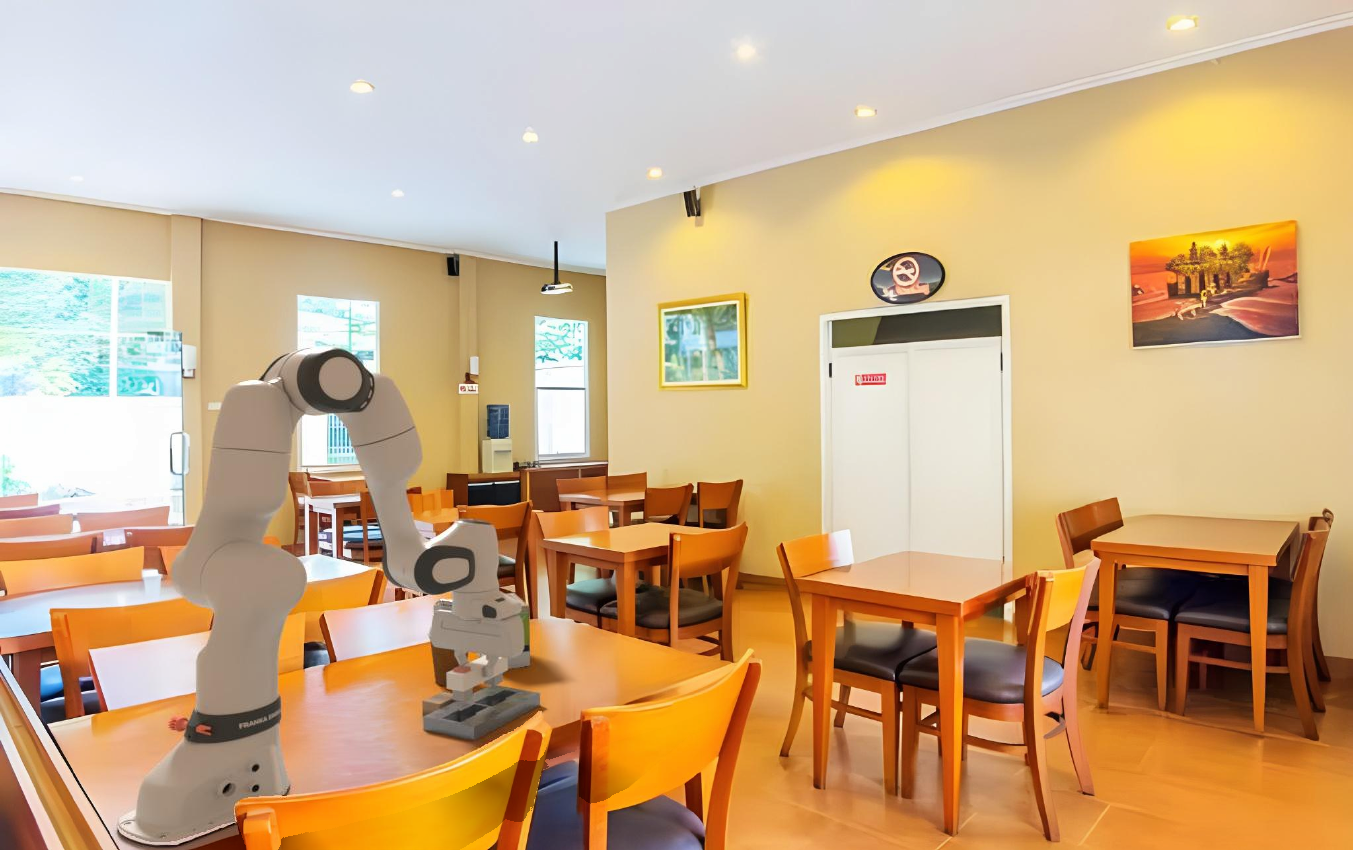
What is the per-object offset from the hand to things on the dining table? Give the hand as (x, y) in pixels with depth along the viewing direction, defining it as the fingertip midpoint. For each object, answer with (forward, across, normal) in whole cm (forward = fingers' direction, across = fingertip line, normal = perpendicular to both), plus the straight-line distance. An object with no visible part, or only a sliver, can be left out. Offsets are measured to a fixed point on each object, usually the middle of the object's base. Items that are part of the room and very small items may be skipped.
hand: (476, 674), depth 152 cm
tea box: (+10, -20, +33) cm, 40 cm away
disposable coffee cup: (+9, -21, +16) cm, 28 cm away
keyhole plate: (+9, 0, +2) cm, 9 cm away
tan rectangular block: (+9, -9, 0) cm, 13 cm away
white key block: (+1, 0, 0) cm, 1 cm away
